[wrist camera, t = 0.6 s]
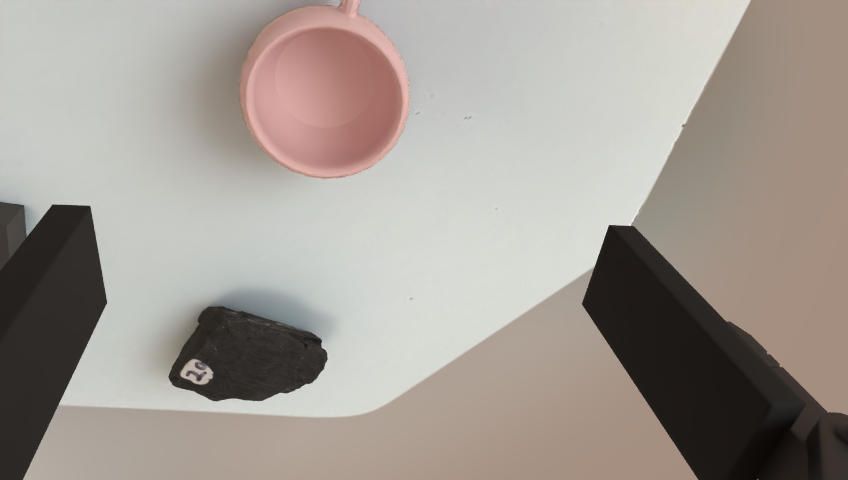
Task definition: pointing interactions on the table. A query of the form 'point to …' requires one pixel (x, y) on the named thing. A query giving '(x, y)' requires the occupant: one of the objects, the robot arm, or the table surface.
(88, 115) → the table surface
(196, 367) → the rock
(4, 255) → the scale
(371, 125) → the mug
